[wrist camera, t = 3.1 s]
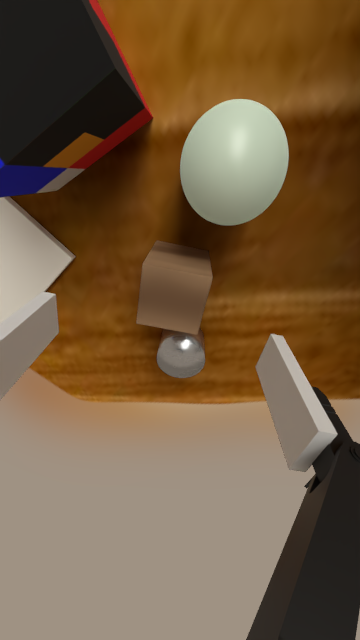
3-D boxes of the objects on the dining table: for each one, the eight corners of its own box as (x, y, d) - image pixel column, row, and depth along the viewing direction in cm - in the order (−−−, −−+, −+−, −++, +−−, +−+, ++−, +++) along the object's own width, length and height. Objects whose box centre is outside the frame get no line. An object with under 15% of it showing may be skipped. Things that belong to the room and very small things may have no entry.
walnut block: (156, 240, 23) (142, 263, 17) (208, 250, 23) (212, 277, 17) (150, 288, 25) (136, 323, 19) (197, 297, 26) (197, 334, 20)
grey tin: (164, 315, 27) (160, 336, 24) (208, 324, 27) (210, 345, 24) (158, 350, 30) (153, 373, 26) (198, 357, 30) (198, 381, 26)
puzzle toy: (57, 190, 21) (-38, 201, 13) (-44, 49, 17) (-288, -80, 8) (153, 118, 18) (115, 68, 10) (61, -76, 14) (-152, -470, 5)
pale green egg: (193, 115, 18) (192, 86, 12) (271, 133, 18) (308, 113, 12) (179, 203, 21) (171, 214, 15) (245, 217, 21) (265, 234, 15)
